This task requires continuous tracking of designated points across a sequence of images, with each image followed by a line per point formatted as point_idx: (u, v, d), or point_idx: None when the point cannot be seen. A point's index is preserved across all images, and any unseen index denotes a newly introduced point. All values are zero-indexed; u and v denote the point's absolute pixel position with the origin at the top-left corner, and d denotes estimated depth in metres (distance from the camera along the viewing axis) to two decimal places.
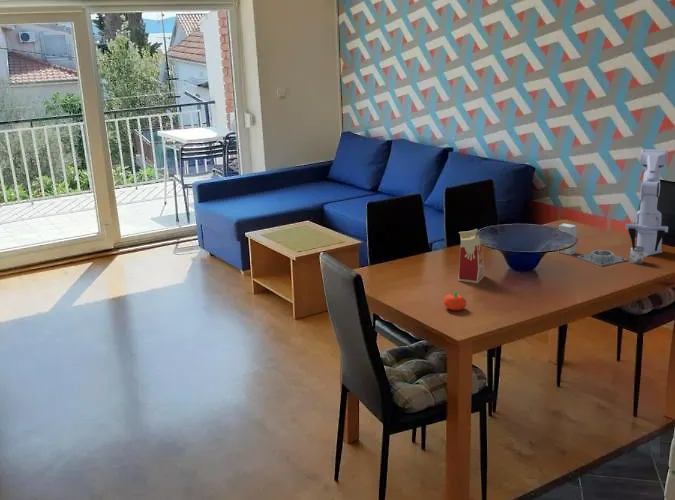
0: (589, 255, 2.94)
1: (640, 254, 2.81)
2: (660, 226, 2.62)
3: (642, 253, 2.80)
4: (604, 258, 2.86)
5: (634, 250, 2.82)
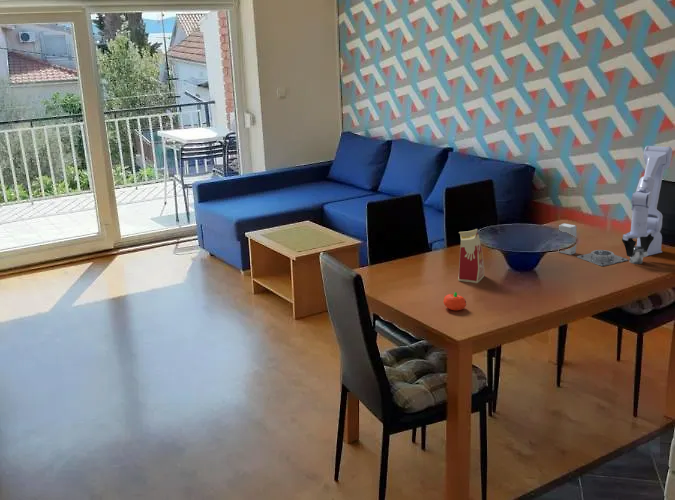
0: (589, 255, 2.94)
1: (640, 254, 2.81)
2: (648, 231, 2.83)
3: (642, 253, 2.80)
4: (604, 258, 2.86)
5: (634, 250, 2.82)
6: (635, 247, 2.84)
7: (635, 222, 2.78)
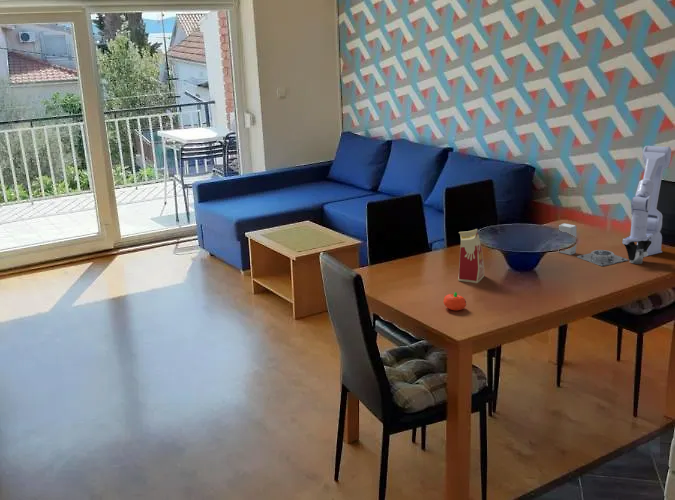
0: (589, 255, 2.94)
1: (640, 254, 2.81)
2: (647, 235, 2.83)
3: (642, 253, 2.80)
4: (604, 258, 2.86)
5: None
6: None
7: (635, 226, 2.79)
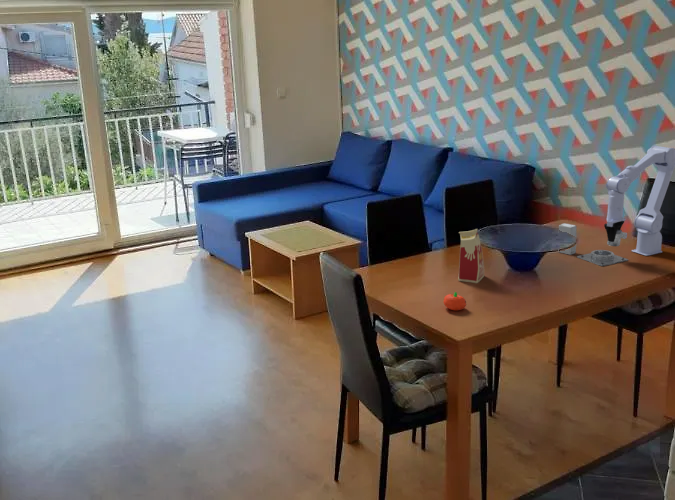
0: (589, 255, 2.94)
1: (621, 236, 2.83)
2: None
3: (623, 235, 2.82)
4: (604, 258, 2.86)
5: None
6: None
7: (609, 206, 2.82)
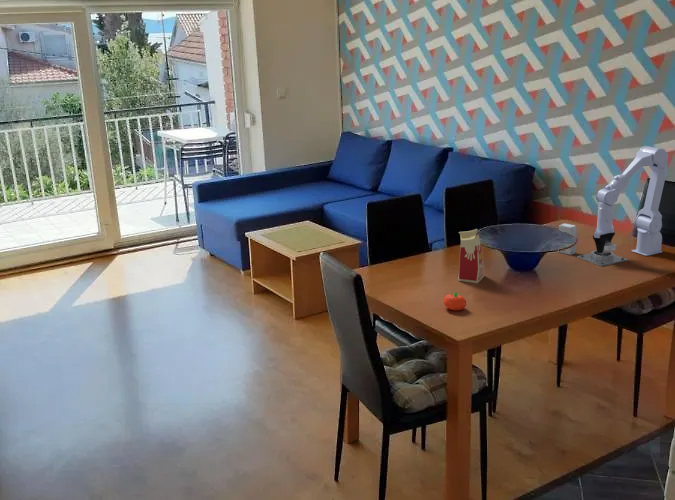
0: (589, 255, 2.94)
1: (610, 248, 2.86)
2: None
3: (612, 247, 2.85)
4: (604, 258, 2.86)
5: None
6: None
7: (598, 218, 2.85)
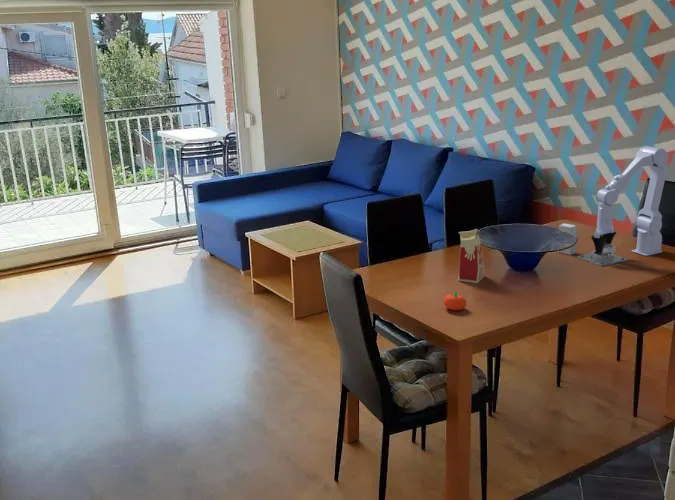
0: (589, 255, 2.94)
1: (609, 249, 2.86)
2: None
3: (611, 248, 2.86)
4: (604, 258, 2.86)
5: (603, 246, 2.86)
6: None
7: (598, 218, 2.85)
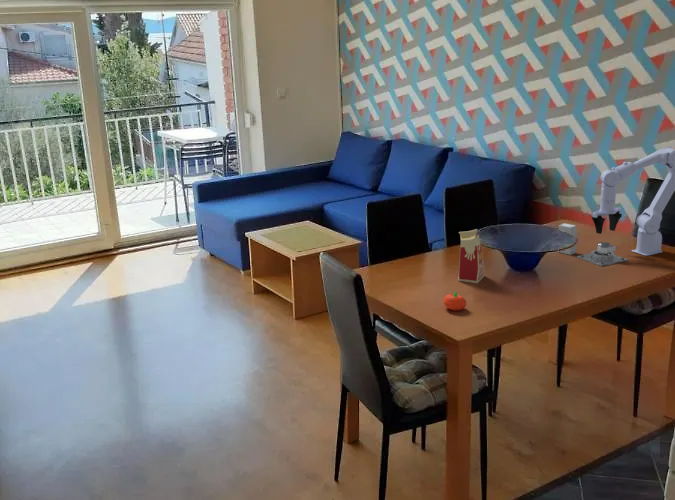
0: (589, 255, 2.94)
1: (609, 249, 2.86)
2: (616, 208, 2.93)
3: (611, 248, 2.86)
4: (604, 258, 2.86)
5: (603, 246, 2.86)
6: (602, 243, 2.89)
7: None
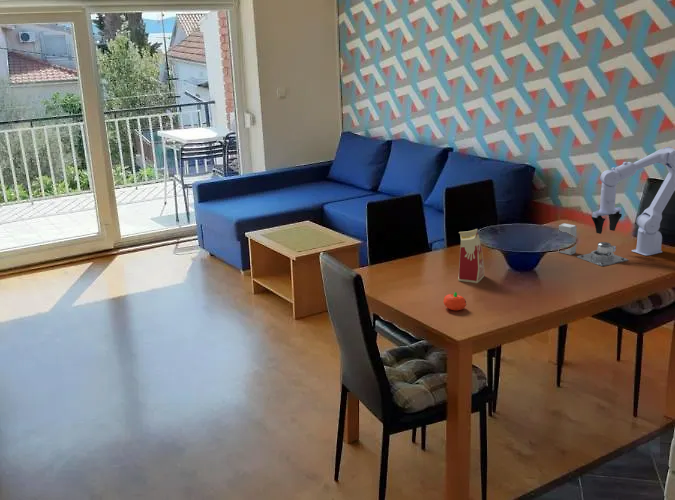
0: (589, 255, 2.94)
1: (609, 249, 2.86)
2: (616, 208, 2.93)
3: (611, 248, 2.86)
4: (604, 258, 2.86)
5: (603, 246, 2.86)
6: (602, 243, 2.89)
7: None
